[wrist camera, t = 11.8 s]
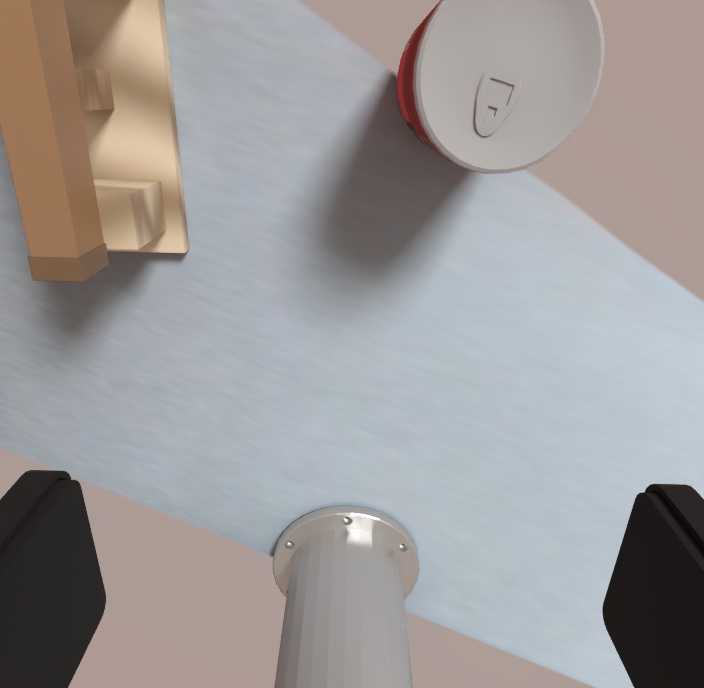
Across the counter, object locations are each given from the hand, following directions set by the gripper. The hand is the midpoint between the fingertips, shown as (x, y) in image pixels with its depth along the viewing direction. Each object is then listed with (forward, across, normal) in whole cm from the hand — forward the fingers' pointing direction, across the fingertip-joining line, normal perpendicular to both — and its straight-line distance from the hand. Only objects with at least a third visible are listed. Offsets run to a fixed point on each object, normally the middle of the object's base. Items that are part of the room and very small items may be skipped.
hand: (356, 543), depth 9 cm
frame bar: (+22, +15, -7) cm, 28 cm away
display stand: (+28, +15, -7) cm, 33 cm away
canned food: (+28, -6, -8) cm, 30 cm away
